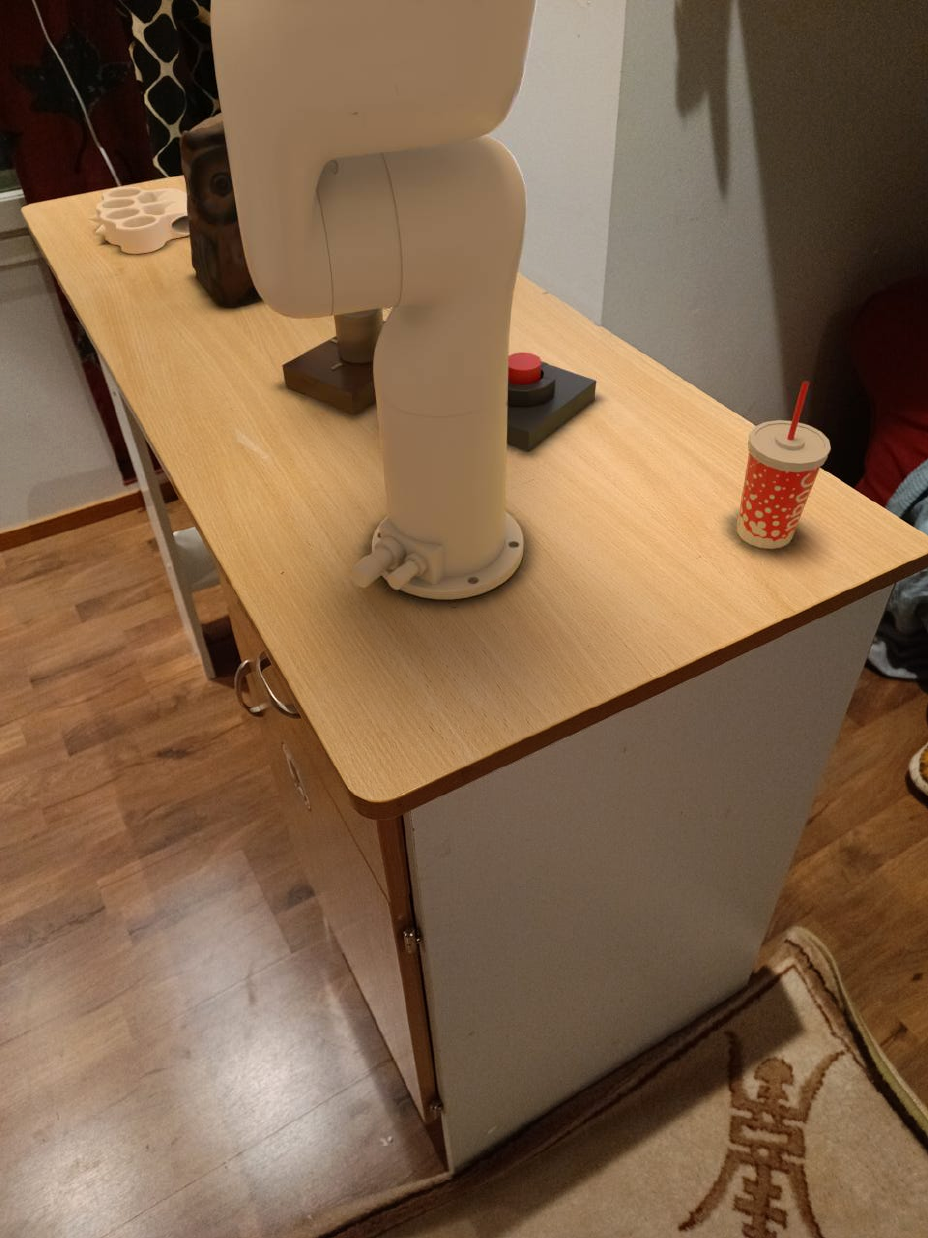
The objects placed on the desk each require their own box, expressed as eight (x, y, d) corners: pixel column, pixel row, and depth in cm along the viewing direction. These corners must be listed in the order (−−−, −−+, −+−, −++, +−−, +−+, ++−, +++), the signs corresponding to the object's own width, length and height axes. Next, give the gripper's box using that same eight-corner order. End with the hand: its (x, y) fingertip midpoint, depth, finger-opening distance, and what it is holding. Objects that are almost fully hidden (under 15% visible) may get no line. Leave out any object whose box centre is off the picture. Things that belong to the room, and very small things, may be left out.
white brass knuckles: (210, 241, 123) (103, 260, 118) (185, 200, 134) (86, 217, 130) (205, 216, 120) (95, 235, 116) (179, 177, 132) (79, 193, 128)
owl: (291, 262, 117) (264, 92, 103) (303, 302, 108) (276, 122, 94) (194, 274, 115) (154, 102, 101) (199, 315, 106) (155, 133, 92)
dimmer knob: (363, 368, 91) (358, 319, 87) (328, 354, 93) (322, 306, 89) (395, 349, 93) (391, 301, 90) (360, 336, 96) (355, 289, 92)
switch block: (528, 452, 84) (529, 415, 81) (446, 419, 88) (445, 383, 85) (594, 399, 90) (598, 364, 87) (515, 371, 95) (516, 336, 92)
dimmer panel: (354, 415, 89) (351, 392, 87) (285, 386, 93) (281, 363, 91) (440, 361, 97) (439, 338, 95) (373, 336, 101) (371, 314, 99)
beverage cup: (756, 562, 71) (799, 411, 62) (712, 520, 75) (746, 372, 66) (817, 542, 73) (868, 392, 63) (771, 502, 77) (812, 355, 67)
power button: (527, 390, 85) (527, 373, 84) (497, 379, 86) (497, 362, 85) (547, 375, 87) (548, 358, 86) (518, 364, 88) (518, 348, 87)
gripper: (291, 117, 70) (319, 321, 82) (429, 69, 79) (436, 258, 91) (228, 101, 73) (264, 299, 85) (368, 57, 82) (382, 241, 94)
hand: (353, 278), depth 88 cm, fingers open, 9 cm apart
